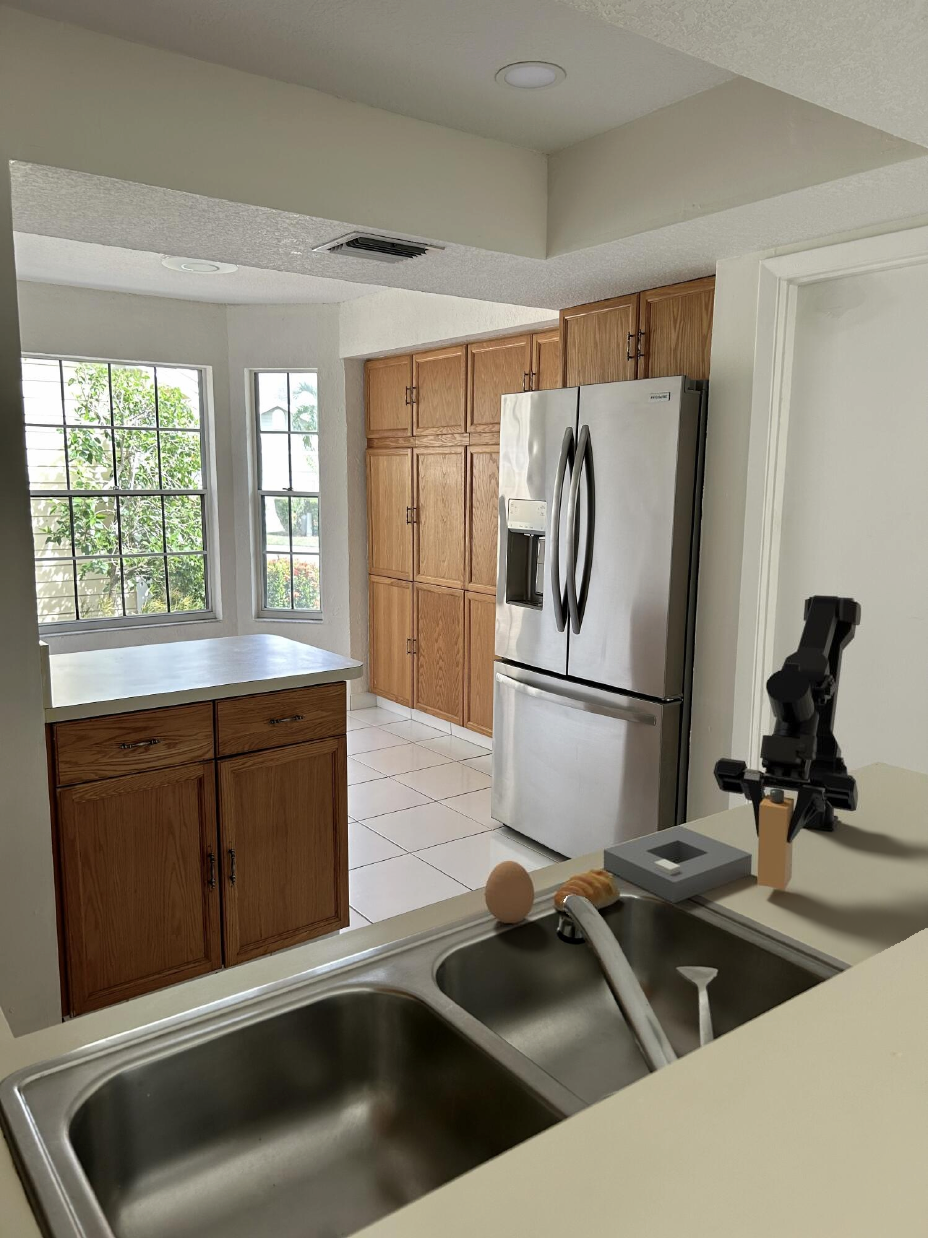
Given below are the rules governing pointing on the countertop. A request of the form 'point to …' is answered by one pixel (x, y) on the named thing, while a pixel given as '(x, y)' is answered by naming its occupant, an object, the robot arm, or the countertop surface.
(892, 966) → the countertop surface
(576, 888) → the pastry
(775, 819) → the plug
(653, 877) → the socket
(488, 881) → the egg
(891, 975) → the countertop surface
